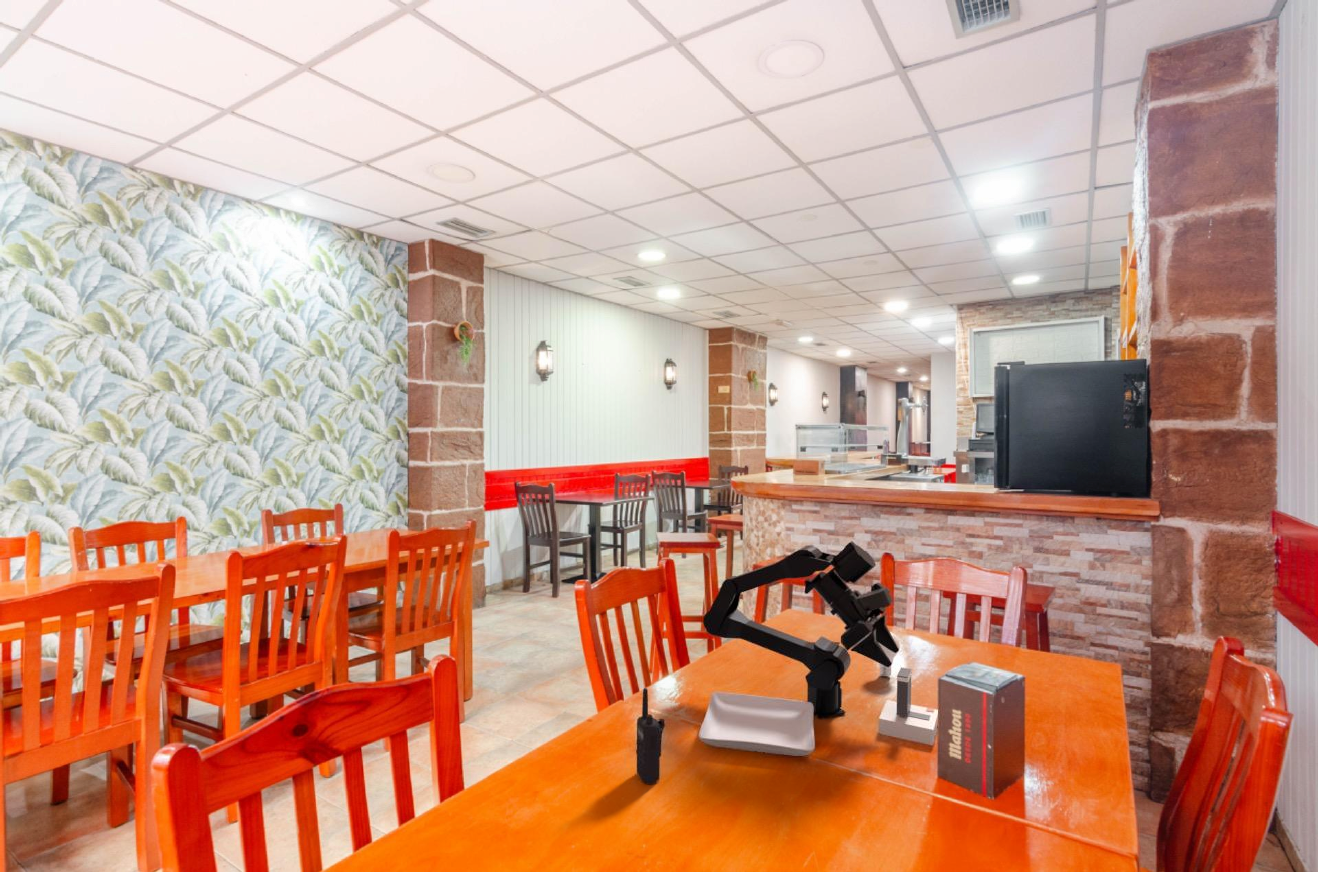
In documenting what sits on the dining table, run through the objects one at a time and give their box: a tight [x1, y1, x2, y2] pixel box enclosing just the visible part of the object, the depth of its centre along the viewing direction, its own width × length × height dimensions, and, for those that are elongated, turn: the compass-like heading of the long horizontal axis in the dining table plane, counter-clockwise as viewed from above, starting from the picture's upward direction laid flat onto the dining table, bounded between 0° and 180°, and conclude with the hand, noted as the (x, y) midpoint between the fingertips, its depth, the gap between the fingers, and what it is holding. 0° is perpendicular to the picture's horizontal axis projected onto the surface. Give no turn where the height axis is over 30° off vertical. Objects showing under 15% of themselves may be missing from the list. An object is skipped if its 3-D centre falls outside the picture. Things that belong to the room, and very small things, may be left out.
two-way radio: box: [635, 687, 666, 785], centre depth 114 cm, size 6×4×15 cm
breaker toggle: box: [896, 667, 913, 717], centre depth 134 cm, size 2×5×8 cm, turn 152°
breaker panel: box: [877, 699, 939, 746], centre depth 133 cm, size 10×10×3 cm
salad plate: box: [697, 691, 816, 757], centre depth 131 cm, size 21×21×3 cm
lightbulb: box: [878, 630, 901, 678], centre depth 161 cm, size 6×6×11 cm
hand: (893, 658), depth 135 cm, fingers open, 9 cm apart
